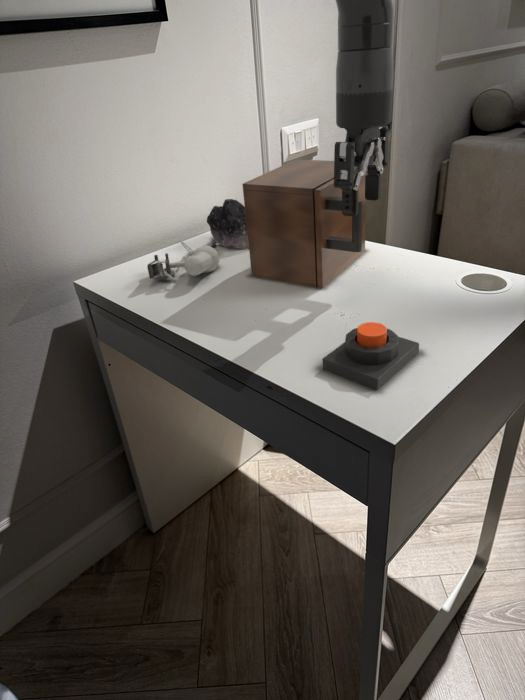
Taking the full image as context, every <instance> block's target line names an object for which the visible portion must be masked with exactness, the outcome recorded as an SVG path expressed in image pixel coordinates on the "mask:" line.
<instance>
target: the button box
mask: <svg viewBox="0 0 525 700" xmlns="http://www.w3.org/2000/svg"><path fill="white" fill-rule="evenodd" d="M357 328H358V327H356V328H352V329H351V330H350V331H348V332H347V333H346V334H345V339H344V342H343V343H342V344H340V345H339V346H338V347H336V348H335V349H334V350H332V351H331V352H330V353H328V354H327V355H326V356H324V357H323V358H322V370H324V371H327V372H330V373H332V374H335V375H337V376H339V377H342V378H345V379H348V380H349V381H352V382H355V383H358V384H359V385H362V386H365V387H368V388H370V389H372V390H375V391H379V390H380V389H381V388H382V387H383V386H384V385H385V384H387V383H388V382H389V381H390V380H391V379H392V378H393V377H394V376H396V375H397V374H398V372H400V371H401V370H402V369H403V368H404V367H406V366H407V364H409V363H410V362H412V361H413V359H415V357H417V356H418V355H419V352H420V342H417V341H414V340H411V339H407V338H404V337H401V336H399V335H398V334H397V333H396V332H395V331H393V329H392V330H391V329H390V328H387V340H386V344H385V345H384V346H380V347H365V346H362V345H359V344H358V342H357Z"/></svg>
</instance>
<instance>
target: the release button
mask: <svg viewBox="0 0 525 700" xmlns="http://www.w3.org/2000/svg"><path fill="white" fill-rule="evenodd" d="M356 328H357V342H358V344H359V345H362V346H365V347H380V346H384V345H385V344H386V340H387V329H388V328H387V326H385V325H384V324H382V323H379V322H373V321H371V322H370V321H369V322H364V323H361V324H360V325H358V327H356Z"/></svg>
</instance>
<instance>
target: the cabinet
mask: <svg viewBox="0 0 525 700" xmlns="http://www.w3.org/2000/svg"><path fill="white" fill-rule="evenodd" d="M341 174H342V171H341ZM333 179H334V160H321V159H320V160H319V159H318V160H317V159H293V160H292V161H289V162H287V163H285V164H282V165H280V166H279V167H276V168H274V169H272V170H269V171H267V172H266V173H265V172H264V173H263V174H261V175H258V176H256V177H254V178H252V179H250V180H248V181H246V182H244V183H242V193H243V205H244V206H245V214H246V224H247V233H248V243H249V248H248V249H249V250H248V253H249V261H250V262H249V263H250V271H251V277H256V278H262V279H267V280H272V281H278V282H284V283H290V284H296V285H301V286H307V287H313V288H318V284H317V254H316V223H315V193H314V190H315V189H317V188H319V187H320V186H322V185H324V184H326V183H327V182H329V181H331V180H333Z"/></svg>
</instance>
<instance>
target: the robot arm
mask: <svg viewBox="0 0 525 700" xmlns="http://www.w3.org/2000/svg"><path fill="white" fill-rule="evenodd" d="M335 4H336V8H337V14H338V15H337V58H336V66H335V67H336V68H335V124H336V126H337V127H338V128H339V129H344V130H345V131H346V133H345V134H346V135H345V141H336V142H335V143H334V150H333V151H334V152H333V153H334V155H333V157H334V158H333V161H334V187H335V188H340V189H342V214H343V215H344V216H353V217H354V216H356V215H357V214H358V187H359V183H360V180H361V177H362V176H363V175H365V173H366V176H365V199H366V201H374V202H375V201H378V200H379V199H380V198H381V180H382V179H381V178H382V176H381V175H383V173H384V168H387V167H388V165H389V161H388V160H389V129H390V128H389V126H388V125H389V124H390V123H391V122H392V111H393V110H392V109H393V92H394V91H393V88H394V87H393V86H394V53H393V45H394V43H393V42H394V21H395V10H394V9H395V8H394V1H393V0H335ZM341 171H342V176H341ZM354 175H355V177H354Z"/></svg>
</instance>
